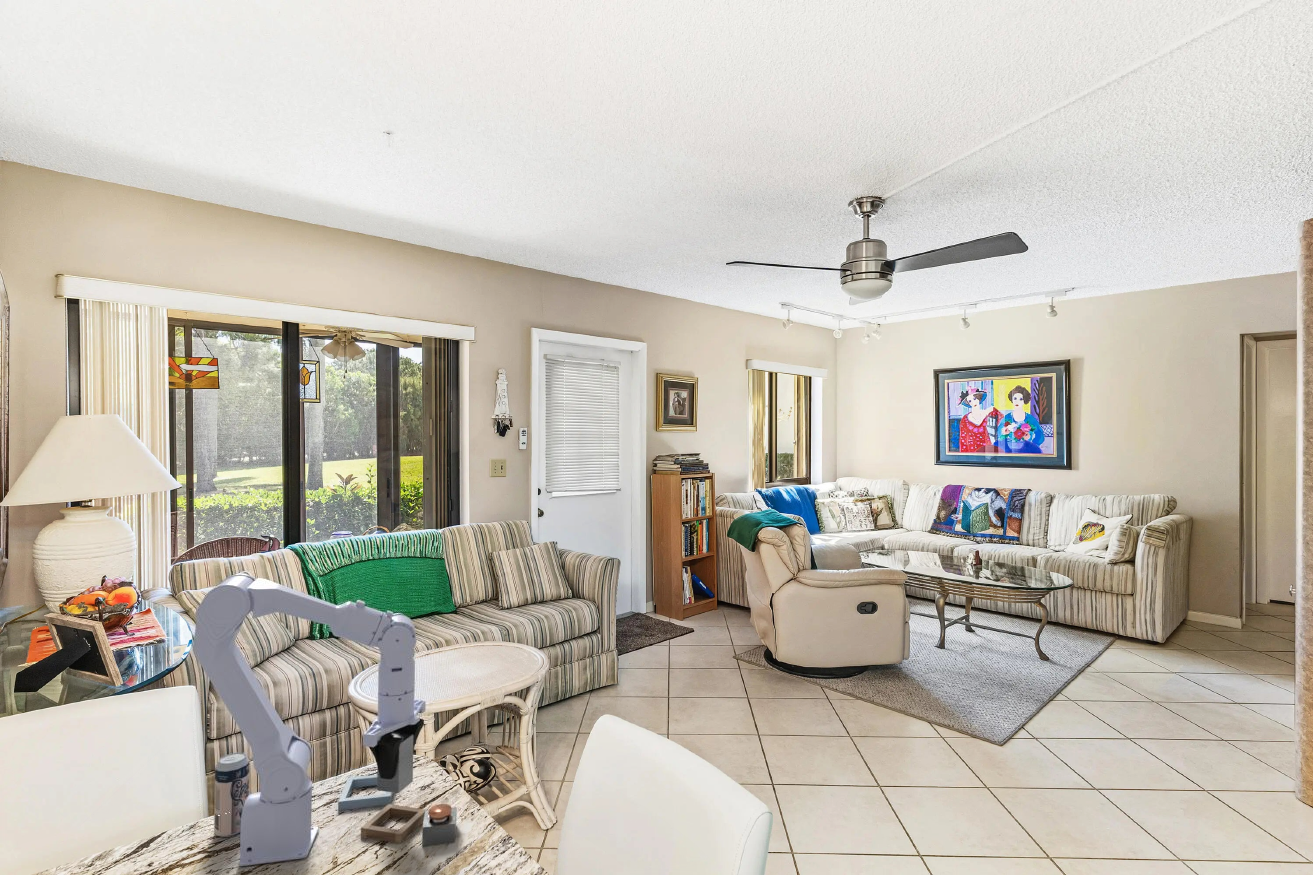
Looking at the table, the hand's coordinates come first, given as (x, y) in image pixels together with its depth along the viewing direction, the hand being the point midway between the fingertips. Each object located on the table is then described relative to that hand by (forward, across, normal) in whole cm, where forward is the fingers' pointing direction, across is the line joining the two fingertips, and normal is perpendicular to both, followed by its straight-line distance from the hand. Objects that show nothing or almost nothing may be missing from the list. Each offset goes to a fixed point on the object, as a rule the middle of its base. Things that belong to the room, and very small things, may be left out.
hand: (395, 771), depth 112 cm
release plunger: (+9, 0, -9) cm, 12 cm away
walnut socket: (+9, 0, 0) cm, 9 cm away
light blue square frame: (+9, +8, +11) cm, 16 cm away
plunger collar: (+9, 0, -8) cm, 13 cm away
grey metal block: (+2, 0, 0) cm, 2 cm away
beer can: (+10, -7, +25) cm, 28 cm away
